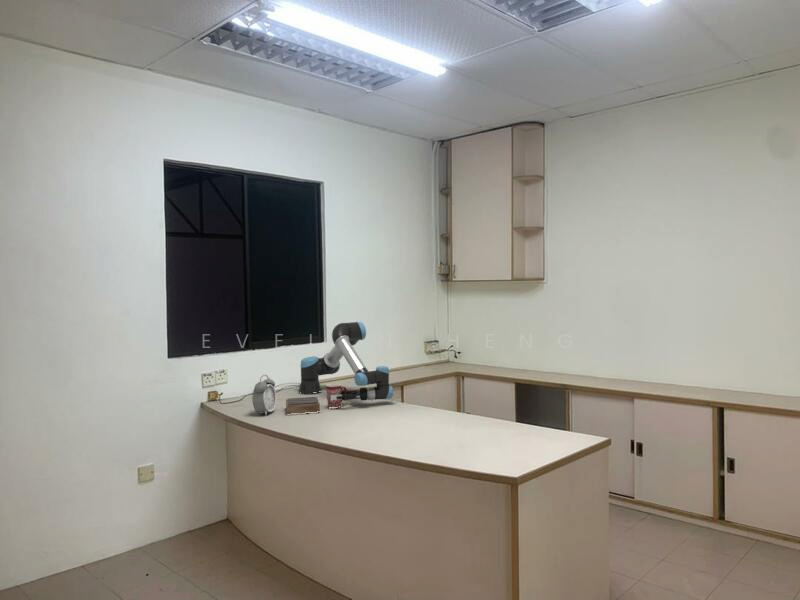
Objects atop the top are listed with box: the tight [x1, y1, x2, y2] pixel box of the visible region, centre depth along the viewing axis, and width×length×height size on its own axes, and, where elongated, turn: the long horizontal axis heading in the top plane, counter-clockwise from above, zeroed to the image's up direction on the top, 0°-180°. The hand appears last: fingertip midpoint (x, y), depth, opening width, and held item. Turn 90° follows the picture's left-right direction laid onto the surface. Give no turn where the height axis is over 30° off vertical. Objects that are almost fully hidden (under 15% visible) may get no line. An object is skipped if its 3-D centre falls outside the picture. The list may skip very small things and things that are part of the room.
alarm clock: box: [251, 374, 277, 415], centre depth 312 cm, size 16×9×22 cm, turn 168°
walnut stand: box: [285, 396, 321, 415], centre depth 318 cm, size 18×18×6 cm
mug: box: [325, 383, 347, 408], centre depth 325 cm, size 13×9×14 cm
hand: (329, 396), depth 324 cm, fingers open, 10 cm apart
